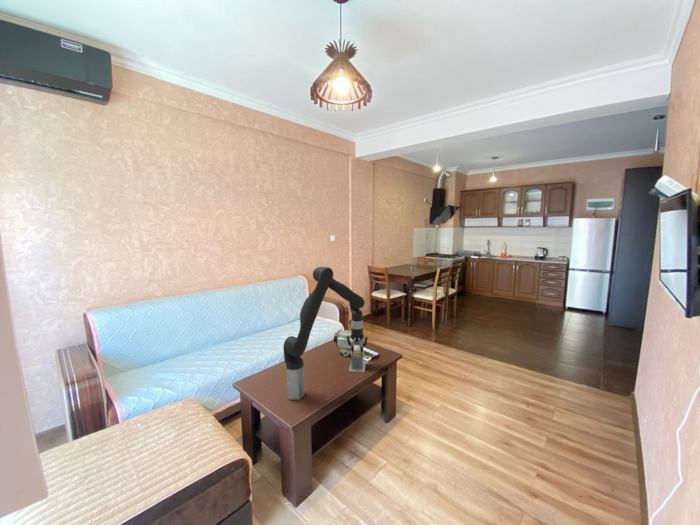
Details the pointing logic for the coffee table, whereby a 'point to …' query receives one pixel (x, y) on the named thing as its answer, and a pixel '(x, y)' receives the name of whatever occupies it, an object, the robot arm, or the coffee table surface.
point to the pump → (357, 347)
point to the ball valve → (343, 341)
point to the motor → (357, 362)
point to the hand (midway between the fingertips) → (357, 351)
